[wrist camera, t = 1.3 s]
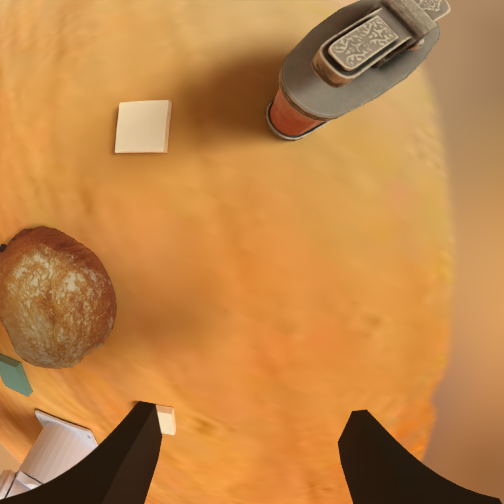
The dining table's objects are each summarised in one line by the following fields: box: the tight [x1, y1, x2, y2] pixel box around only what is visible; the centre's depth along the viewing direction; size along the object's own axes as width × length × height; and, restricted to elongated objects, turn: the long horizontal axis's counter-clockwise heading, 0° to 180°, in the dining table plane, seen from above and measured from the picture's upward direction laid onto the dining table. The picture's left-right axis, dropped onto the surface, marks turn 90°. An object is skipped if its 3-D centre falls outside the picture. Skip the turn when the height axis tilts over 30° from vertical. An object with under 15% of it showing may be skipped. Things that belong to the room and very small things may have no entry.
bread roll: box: [0, 227, 117, 369], centre depth 15 cm, size 10×10×8 cm
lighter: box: [265, 0, 450, 141], centre depth 9 cm, size 8×3×10 cm, turn 133°
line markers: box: [0, 100, 176, 435], centre depth 17 cm, size 26×20×1 cm
